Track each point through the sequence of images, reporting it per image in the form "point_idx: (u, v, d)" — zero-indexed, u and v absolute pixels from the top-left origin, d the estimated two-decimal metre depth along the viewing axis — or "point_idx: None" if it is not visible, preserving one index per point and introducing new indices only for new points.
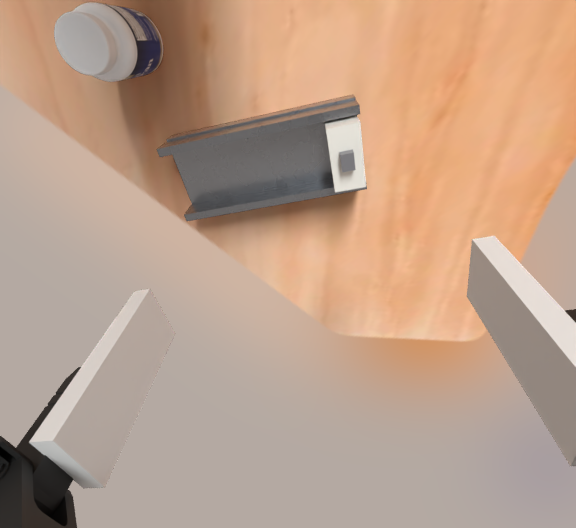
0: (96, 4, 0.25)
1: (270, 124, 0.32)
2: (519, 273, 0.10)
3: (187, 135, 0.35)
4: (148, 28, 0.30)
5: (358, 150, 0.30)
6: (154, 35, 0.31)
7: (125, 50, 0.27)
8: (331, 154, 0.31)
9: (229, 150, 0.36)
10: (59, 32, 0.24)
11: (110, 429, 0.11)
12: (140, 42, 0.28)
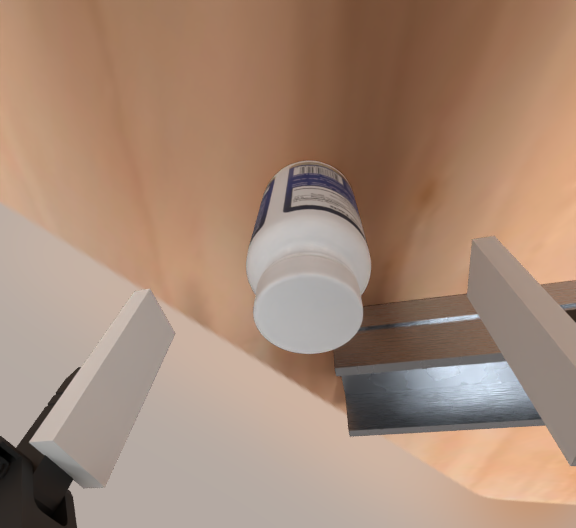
0: (324, 221, 0.13)
1: None
2: (519, 273, 0.10)
3: (366, 326, 0.23)
4: None
5: None
6: None
7: (359, 289, 0.14)
8: None
9: None
10: (267, 301, 0.12)
11: (110, 429, 0.11)
12: None
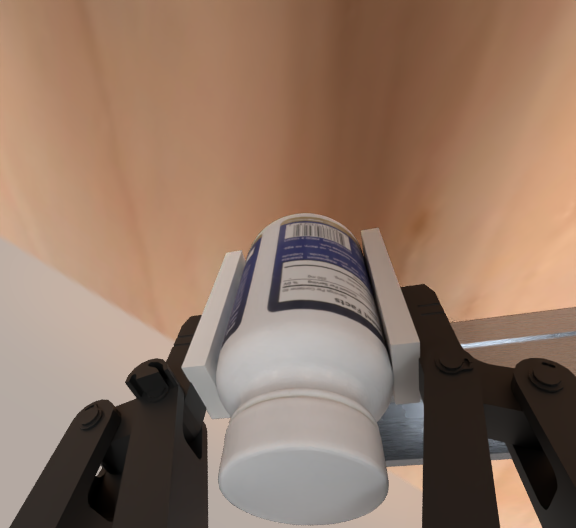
0: (327, 332, 0.08)
1: None
2: (381, 257, 0.12)
3: None
4: (367, 274, 0.13)
5: None
6: None
7: (378, 417, 0.10)
8: None
9: None
10: (238, 474, 0.07)
11: None
12: None
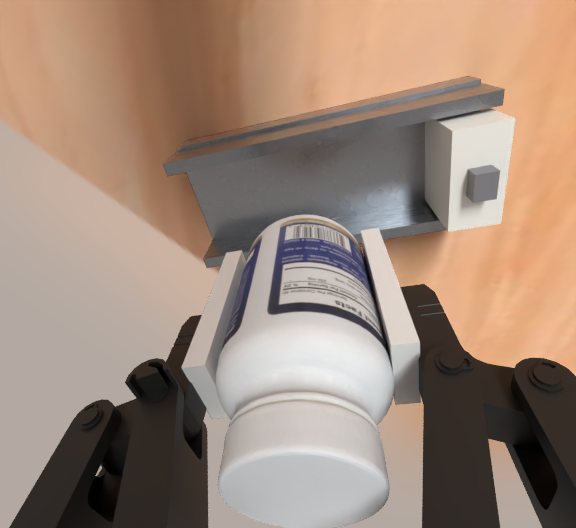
0: (327, 335, 0.08)
1: (348, 123, 0.19)
2: (381, 257, 0.12)
3: (209, 141, 0.23)
4: None
5: (501, 166, 0.18)
6: None
7: (378, 419, 0.10)
8: (453, 173, 0.18)
9: (272, 163, 0.24)
10: (238, 478, 0.07)
11: None
12: None
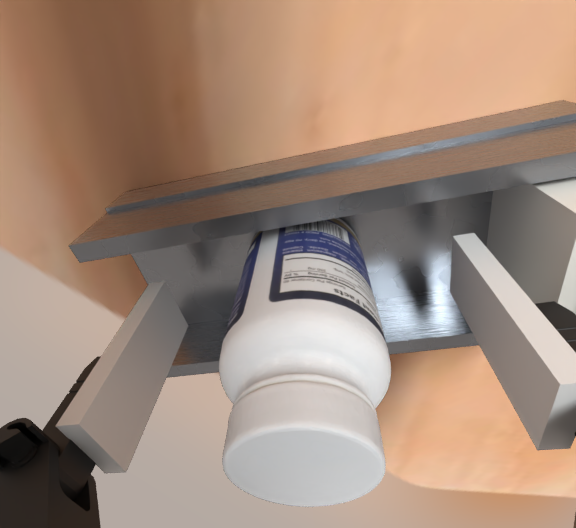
0: (326, 321, 0.09)
1: (376, 188, 0.11)
2: (494, 268, 0.11)
3: (153, 199, 0.15)
4: None
5: None
6: None
7: (375, 403, 0.10)
8: (569, 282, 0.10)
9: None
10: (242, 454, 0.08)
11: (130, 416, 0.11)
12: None
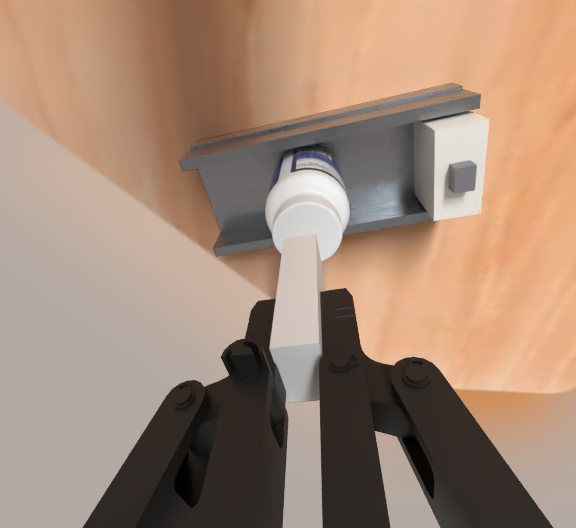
0: (317, 176, 0.19)
1: (344, 124, 0.22)
2: (310, 262, 0.13)
3: (219, 141, 0.26)
4: (341, 174, 0.24)
5: (478, 161, 0.21)
6: None
7: (342, 225, 0.21)
8: (437, 167, 0.21)
9: (276, 161, 0.26)
10: (281, 223, 0.18)
11: None
12: None
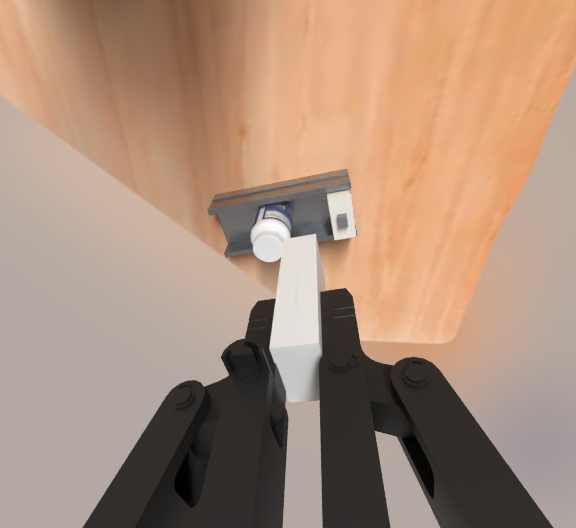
0: (273, 222, 0.43)
1: (288, 194, 0.45)
2: (310, 262, 0.13)
3: (227, 197, 0.49)
4: (289, 216, 0.47)
5: (350, 213, 0.44)
6: (291, 217, 0.48)
7: None
8: (331, 216, 0.44)
9: (257, 207, 0.50)
10: (256, 244, 0.42)
11: None
12: (290, 232, 0.46)
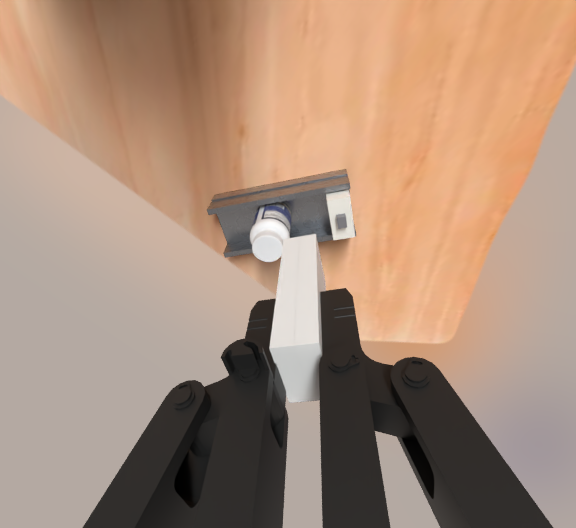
0: (273, 222, 0.43)
1: (288, 194, 0.45)
2: (310, 262, 0.13)
3: (226, 197, 0.49)
4: (289, 216, 0.48)
5: (349, 214, 0.44)
6: (290, 217, 0.48)
7: None
8: (330, 216, 0.44)
9: (256, 207, 0.50)
10: (256, 244, 0.42)
11: None
12: None
